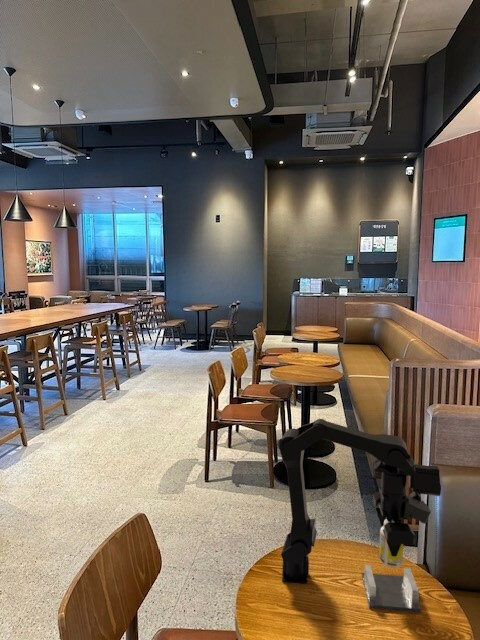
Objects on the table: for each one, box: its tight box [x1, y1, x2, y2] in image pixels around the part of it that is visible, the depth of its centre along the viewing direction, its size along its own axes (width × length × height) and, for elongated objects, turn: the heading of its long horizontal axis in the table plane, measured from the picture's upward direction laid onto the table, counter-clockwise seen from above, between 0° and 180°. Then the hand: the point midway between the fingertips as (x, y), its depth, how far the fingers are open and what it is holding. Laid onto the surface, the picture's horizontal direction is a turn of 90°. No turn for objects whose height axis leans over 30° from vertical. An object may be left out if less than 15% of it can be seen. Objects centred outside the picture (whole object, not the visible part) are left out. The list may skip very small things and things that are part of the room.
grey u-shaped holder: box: [361, 564, 422, 614], centre depth 108 cm, size 11×12×4 cm
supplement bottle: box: [378, 519, 404, 568], centre depth 107 cm, size 6×6×10 cm
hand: (391, 548), depth 107 cm, fingers closed on supplement bottle, 5 cm apart
